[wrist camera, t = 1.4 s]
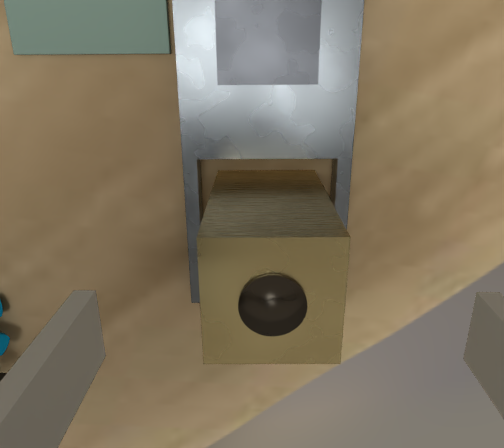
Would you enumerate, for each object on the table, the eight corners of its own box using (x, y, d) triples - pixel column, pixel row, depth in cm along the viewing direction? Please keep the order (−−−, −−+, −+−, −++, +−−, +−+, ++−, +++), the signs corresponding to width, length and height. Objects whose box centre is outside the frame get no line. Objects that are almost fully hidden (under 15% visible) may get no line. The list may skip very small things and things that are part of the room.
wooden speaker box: (221, 257, 27) (203, 367, 17) (218, 170, 25) (195, 239, 15) (310, 257, 27) (341, 367, 17) (314, 170, 25) (351, 239, 15)
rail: (194, 290, 28) (191, 303, 26) (162, -252, 18) (154, -280, 17) (336, 290, 28) (341, 303, 26) (375, -255, 18) (386, -282, 17)
